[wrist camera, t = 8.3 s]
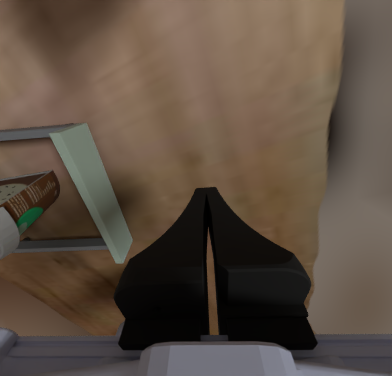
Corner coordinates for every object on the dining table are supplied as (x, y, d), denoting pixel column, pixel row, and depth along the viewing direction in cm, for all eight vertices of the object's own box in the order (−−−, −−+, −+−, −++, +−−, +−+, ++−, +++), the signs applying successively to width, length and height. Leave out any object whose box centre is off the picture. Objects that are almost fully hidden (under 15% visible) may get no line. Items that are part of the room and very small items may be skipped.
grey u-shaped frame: (134, 236, 28) (123, 263, 24) (23, 241, 30) (-6, 267, 25) (90, 121, 19) (59, 132, 15) (-70, 134, 20) (-141, 148, 16)
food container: (14, 216, 27) (-73, 279, 18) (-19, 182, 24) (-142, 239, 15) (87, 205, 25) (30, 269, 17) (63, 168, 22) (-23, 222, 14)
